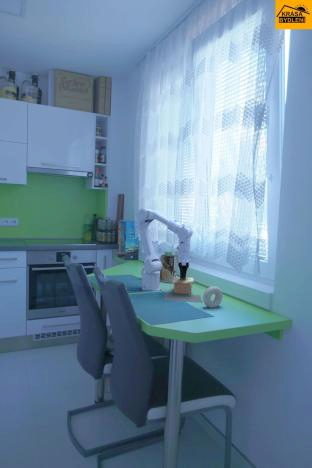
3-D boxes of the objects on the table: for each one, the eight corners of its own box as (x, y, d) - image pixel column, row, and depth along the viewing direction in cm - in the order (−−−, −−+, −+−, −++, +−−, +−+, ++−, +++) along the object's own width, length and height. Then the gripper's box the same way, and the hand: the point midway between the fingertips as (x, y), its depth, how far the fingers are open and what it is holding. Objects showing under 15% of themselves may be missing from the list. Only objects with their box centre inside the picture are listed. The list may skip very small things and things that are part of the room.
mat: (163, 301, 160) (164, 300, 160) (164, 294, 173) (164, 293, 173) (202, 303, 159) (202, 302, 159) (200, 296, 172) (200, 295, 172)
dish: (173, 294, 175) (174, 284, 174) (173, 290, 184) (174, 281, 183) (191, 295, 174) (191, 285, 174) (190, 291, 183) (190, 281, 183)
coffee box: (176, 281, 207) (177, 255, 205) (173, 283, 201) (174, 256, 199) (162, 279, 210) (163, 254, 209) (159, 281, 204) (160, 255, 203)
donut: (205, 310, 149) (206, 287, 148) (200, 308, 152) (201, 286, 151) (223, 308, 153) (224, 286, 152) (218, 306, 156) (219, 284, 156)
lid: (171, 282, 168) (172, 273, 168) (172, 278, 179) (172, 269, 179) (194, 283, 167) (194, 274, 167) (193, 279, 178) (193, 270, 178)
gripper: (192, 252, 165) (191, 280, 166) (191, 249, 179) (190, 274, 180) (178, 252, 165) (176, 279, 166) (178, 248, 179) (177, 274, 180)
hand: (182, 277), depth 173 cm, fingers closed on lid, 3 cm apart
